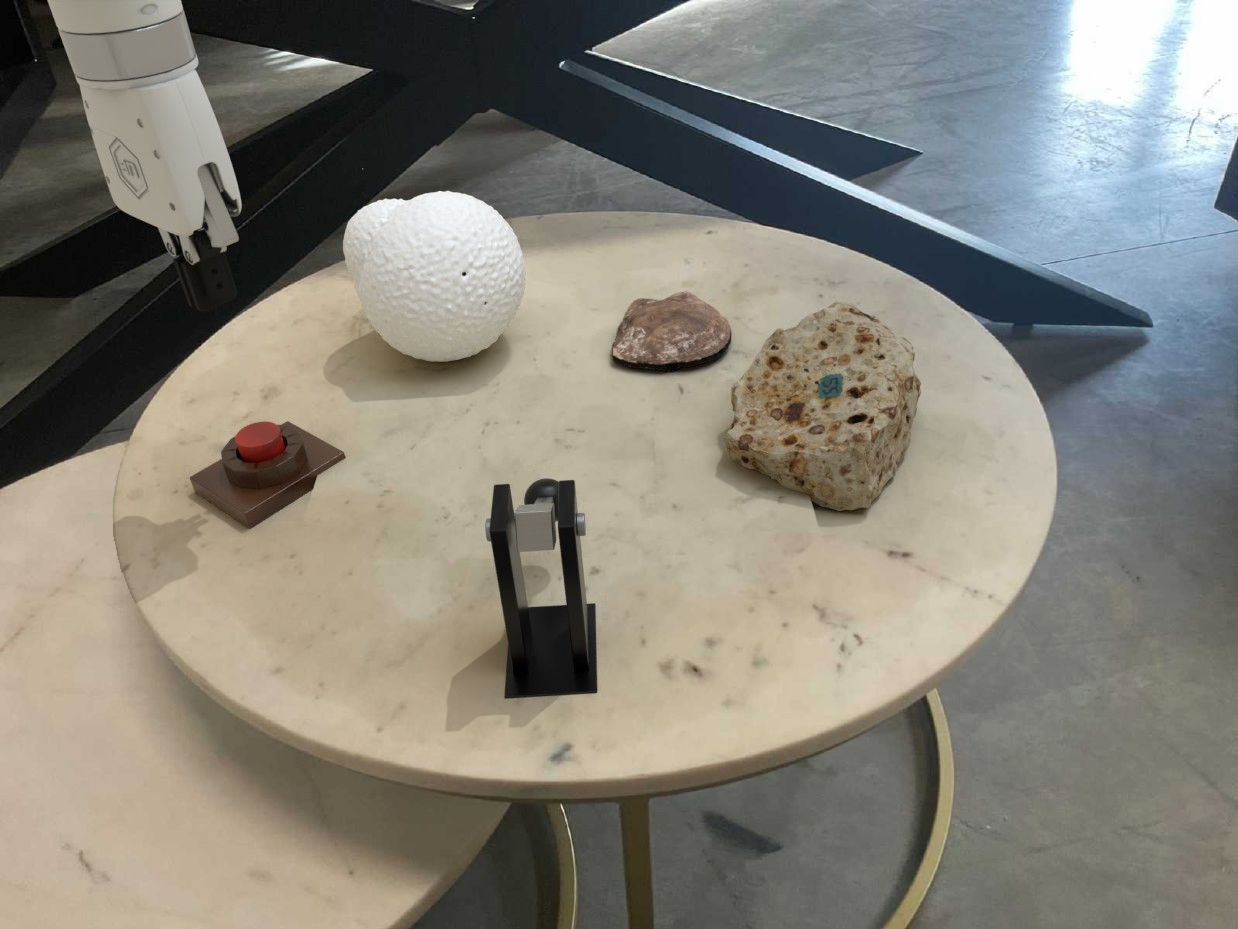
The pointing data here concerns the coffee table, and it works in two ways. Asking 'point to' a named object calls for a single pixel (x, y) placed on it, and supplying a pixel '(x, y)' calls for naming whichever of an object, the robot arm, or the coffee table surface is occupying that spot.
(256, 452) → the button
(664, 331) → the shell
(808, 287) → the coffee table surface
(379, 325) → the decorative orb
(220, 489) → the control block
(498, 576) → the bracket
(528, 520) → the lever
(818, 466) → the rock
